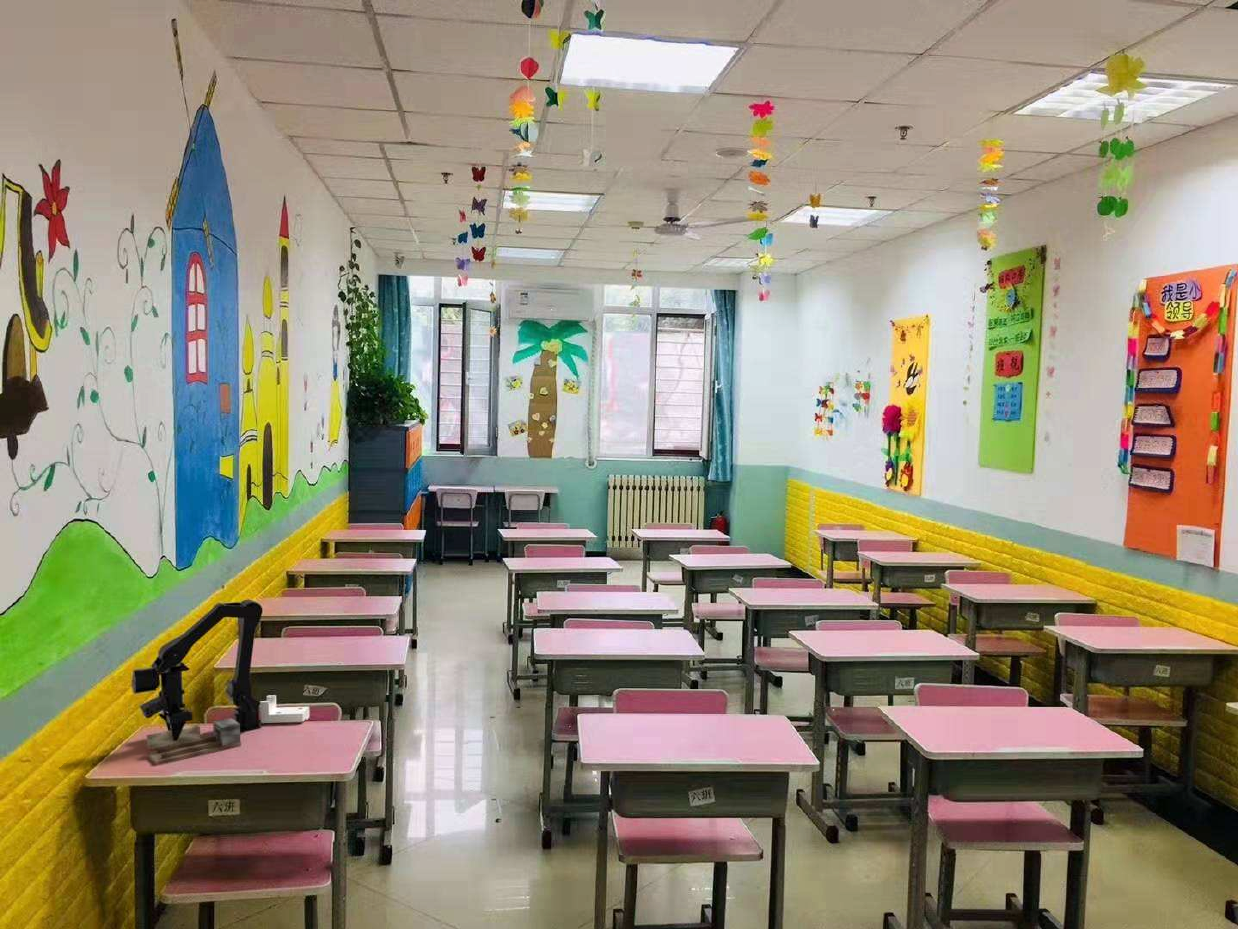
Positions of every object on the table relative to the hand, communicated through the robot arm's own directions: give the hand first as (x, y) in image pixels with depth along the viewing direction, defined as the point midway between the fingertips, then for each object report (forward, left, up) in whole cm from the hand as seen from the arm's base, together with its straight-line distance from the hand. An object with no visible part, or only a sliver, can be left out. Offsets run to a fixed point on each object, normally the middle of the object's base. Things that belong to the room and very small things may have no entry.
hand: (173, 739), depth 277 cm
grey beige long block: (0, 0, -1) cm, 1 cm away
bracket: (-32, +2, -2) cm, 33 cm away
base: (-2, +12, -1) cm, 12 cm away
